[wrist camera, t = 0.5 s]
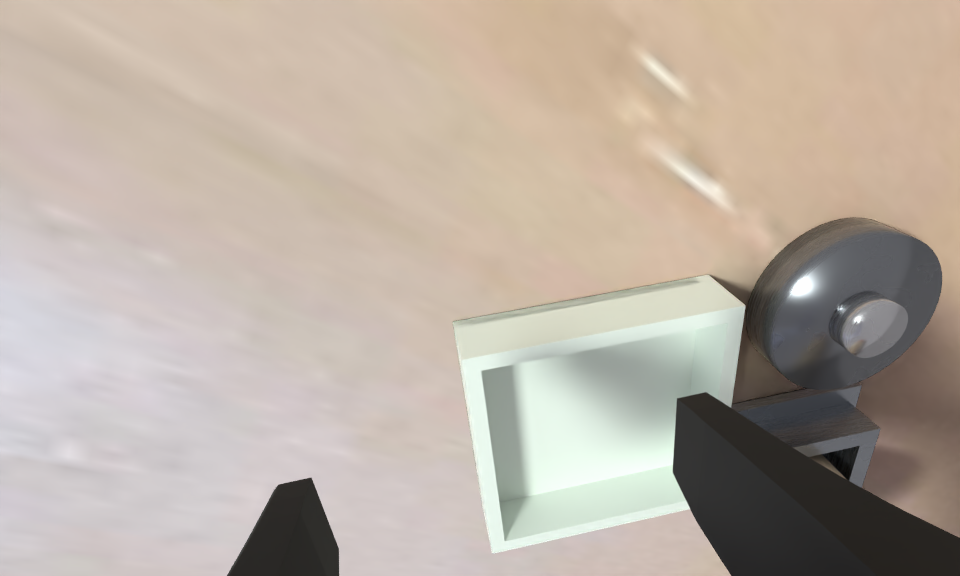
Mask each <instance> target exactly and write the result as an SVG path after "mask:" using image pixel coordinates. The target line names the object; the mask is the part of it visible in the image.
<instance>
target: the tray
mask: <svg viewBox="0 0 960 576" xmlns="http://www.w3.org/2000/svg"><path fill="white" fill-rule="evenodd" d="M745 306H746V305H744V304H743V303H742V302H741V301H739V300H738V299H737V298H736V297H735V296H733V295H732V294H731V293H730V292H729V291H727V290H726V289H725V288H724V287H723V286H721V285H720V284H719V283H718V282H717V281H715V280H714V279H713V278H712V277H710V276H709V275H703V276H698V277H692V278H687V279H682V280H676V281H671V282H665V283H660V284H654V285H649V286H644V287H638V288H633V289H627V290H622V291H617V292H611V293H606V294H600V295H595V296H590V297H584V298H579V299H573V300H568V301H562V302H557V303H552V304H546V305H541V306H535V307H530V308H525V309H519V310H514V311H508V312H503V313H497V314H492V315H487V316H481V317H476V318H470V319H465V320H460V321H454V322H453V327H454V333H455V339H456V346H457V352H458V358H459V364H460V371H461V377H462V383H463V389H464V395H465V402H466V408H467V414H468V420H469V427H470V433H471V439H472V445H473V451H474V458H475V464H476V470H477V476H478V483H479V489H480V495H481V501H482V507H483V512H484V517H485V521H486V526H487V531H488V536H489V541H490V545H491V550H492V554H493V553H498V552H502V551H507V550H511V549H515V548H520V547H524V546H529V545H533V544H538V543H542V542H546V541H551V540H555V539H560V538H564V537H569V536H573V535H577V534H582V533H586V532H591V531H595V530H599V529H604V528H608V527H613V526H617V525H622V524H626V523H630V522H635V521H639V520H644V519H648V518H653V517H657V516H661V515H666V514H670V513H675V512H679V511H684V510H688V509H690V507H689V505H688V503H687V501H686V499H685V497H684V495H683V493H682V491H681V489H680V487H679V485H678V483H677V481H676V479H675V476H674V474H673V456H674V439H675V423H676V406H677V398H681V397H686V396H690V395H695V394H700V393H704V392H707V393H708V394H710V395H712V396H713V397H715V398H716V399H718V400H720V401H721V402H723V403H724V404H726V405H727V406H729V407H730V408H731V405H732V398H733V391H734V384H735V377H736V370H737V363H738V356H739V349H740V342H741V335H742V327H743V320H744V313H745Z"/></svg>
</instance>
